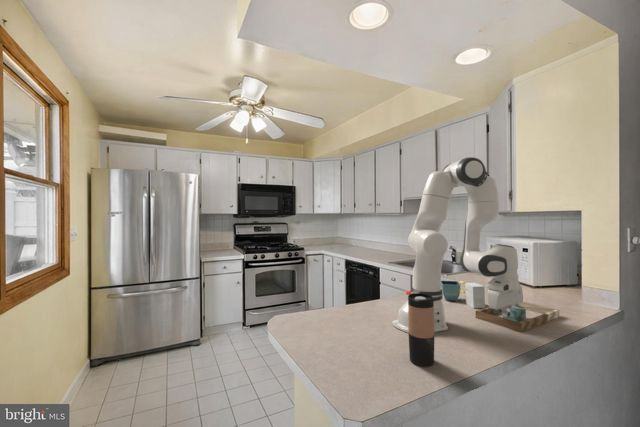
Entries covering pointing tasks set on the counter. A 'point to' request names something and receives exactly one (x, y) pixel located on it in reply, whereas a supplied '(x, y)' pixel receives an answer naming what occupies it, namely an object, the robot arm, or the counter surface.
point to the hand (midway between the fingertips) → (506, 316)
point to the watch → (463, 283)
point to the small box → (475, 295)
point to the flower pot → (450, 290)
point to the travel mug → (421, 329)
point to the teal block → (517, 314)
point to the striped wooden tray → (522, 326)
